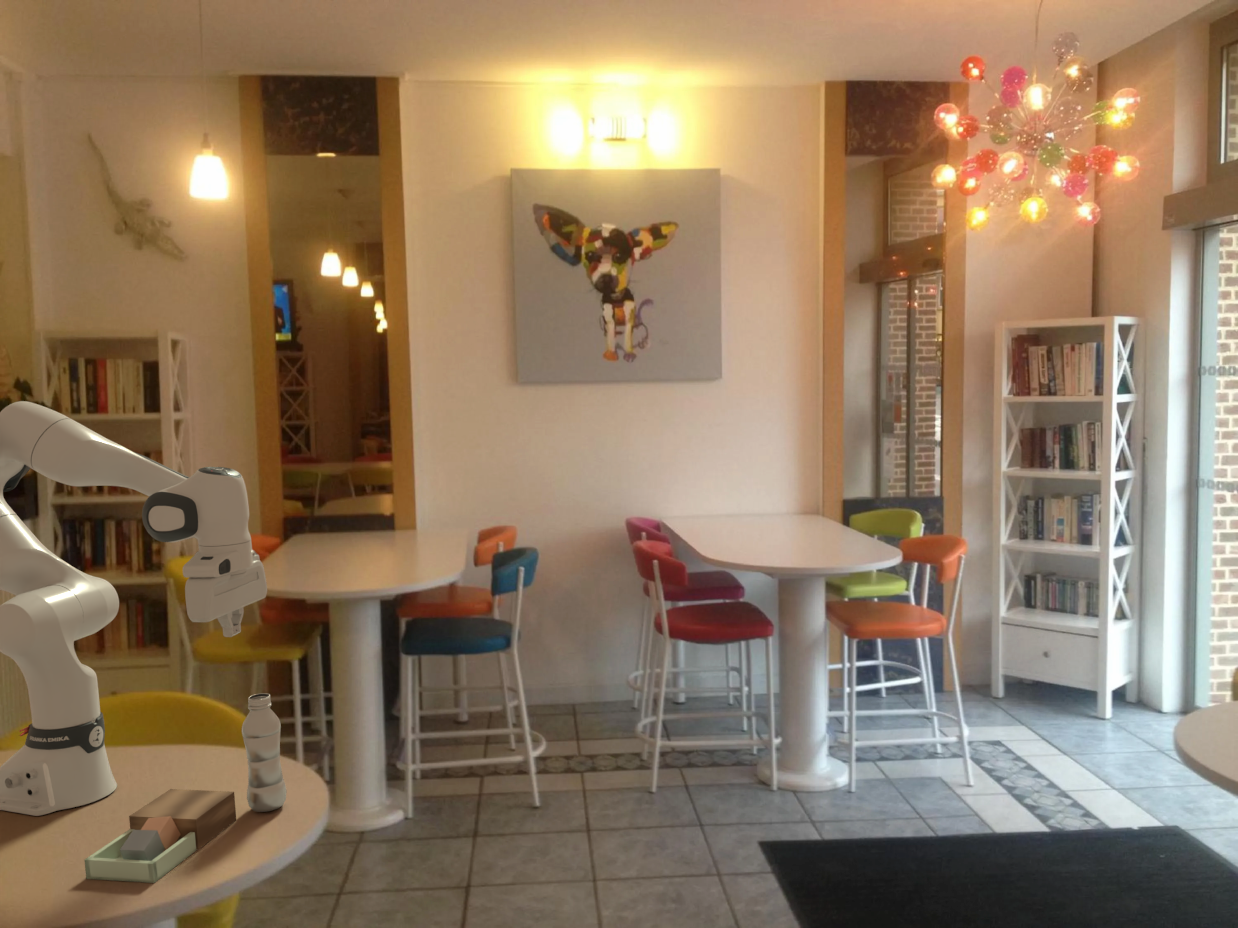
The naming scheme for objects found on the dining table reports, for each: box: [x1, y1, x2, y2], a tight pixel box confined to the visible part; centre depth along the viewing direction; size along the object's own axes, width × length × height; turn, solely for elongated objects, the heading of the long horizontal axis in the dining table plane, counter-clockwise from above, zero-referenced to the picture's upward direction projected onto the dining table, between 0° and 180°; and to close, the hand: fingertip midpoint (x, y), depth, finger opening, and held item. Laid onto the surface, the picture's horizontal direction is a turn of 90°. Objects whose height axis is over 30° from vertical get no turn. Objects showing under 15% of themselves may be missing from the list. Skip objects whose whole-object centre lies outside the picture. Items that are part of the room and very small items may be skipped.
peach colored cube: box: [141, 816, 181, 852], centre depth 168 cm, size 4×4×4 cm
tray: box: [84, 828, 197, 884], centre depth 165 cm, size 12×11×3 cm
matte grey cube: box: [120, 830, 164, 861], centre depth 164 cm, size 4×4×4 cm
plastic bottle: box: [241, 692, 287, 813], centre depth 184 cm, size 6×7×20 cm
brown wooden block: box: [128, 788, 237, 851], centre depth 176 cm, size 12×11×5 cm
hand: (232, 635), depth 189 cm, fingers closed
